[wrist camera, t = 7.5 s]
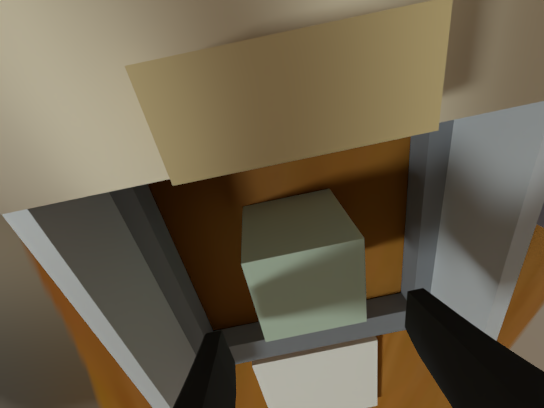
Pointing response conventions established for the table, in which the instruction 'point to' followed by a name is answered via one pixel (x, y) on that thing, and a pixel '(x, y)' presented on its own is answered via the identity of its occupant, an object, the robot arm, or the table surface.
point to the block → (303, 265)
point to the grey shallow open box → (380, 311)
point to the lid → (240, 83)
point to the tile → (321, 376)
